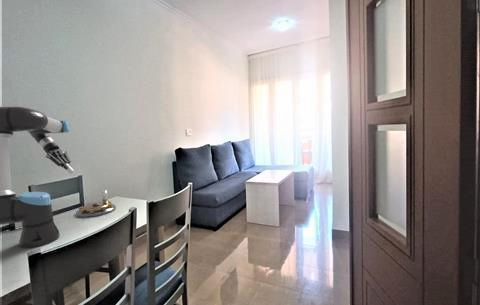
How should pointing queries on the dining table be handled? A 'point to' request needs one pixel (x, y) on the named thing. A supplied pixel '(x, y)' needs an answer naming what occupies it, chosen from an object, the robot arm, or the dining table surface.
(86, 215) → the grey plate
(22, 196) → the robot arm
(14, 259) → the dining table surface
